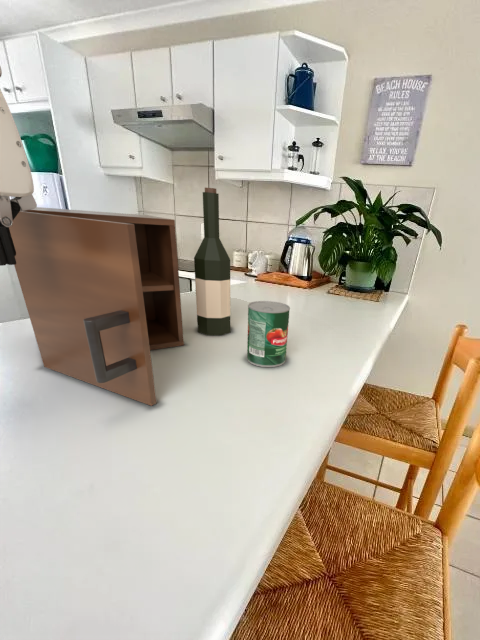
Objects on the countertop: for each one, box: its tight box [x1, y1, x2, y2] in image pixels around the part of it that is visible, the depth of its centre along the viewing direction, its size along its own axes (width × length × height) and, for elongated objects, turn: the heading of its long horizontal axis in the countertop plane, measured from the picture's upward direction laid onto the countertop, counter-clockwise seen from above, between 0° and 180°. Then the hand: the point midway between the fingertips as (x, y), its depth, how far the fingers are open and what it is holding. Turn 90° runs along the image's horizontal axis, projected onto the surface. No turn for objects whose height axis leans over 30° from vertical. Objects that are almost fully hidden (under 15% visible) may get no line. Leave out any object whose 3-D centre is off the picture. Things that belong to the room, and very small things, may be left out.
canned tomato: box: [246, 300, 291, 368], centre depth 63 cm, size 8×8×11 cm
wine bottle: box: [193, 187, 231, 336], centre depth 72 cm, size 8×8×30 cm
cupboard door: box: [9, 211, 158, 407], centre depth 43 cm, size 6×24×24 cm, turn 65°
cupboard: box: [25, 206, 185, 351], centre depth 63 cm, size 18×24×24 cm
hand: (1, 263), depth 38 cm, fingers closed
